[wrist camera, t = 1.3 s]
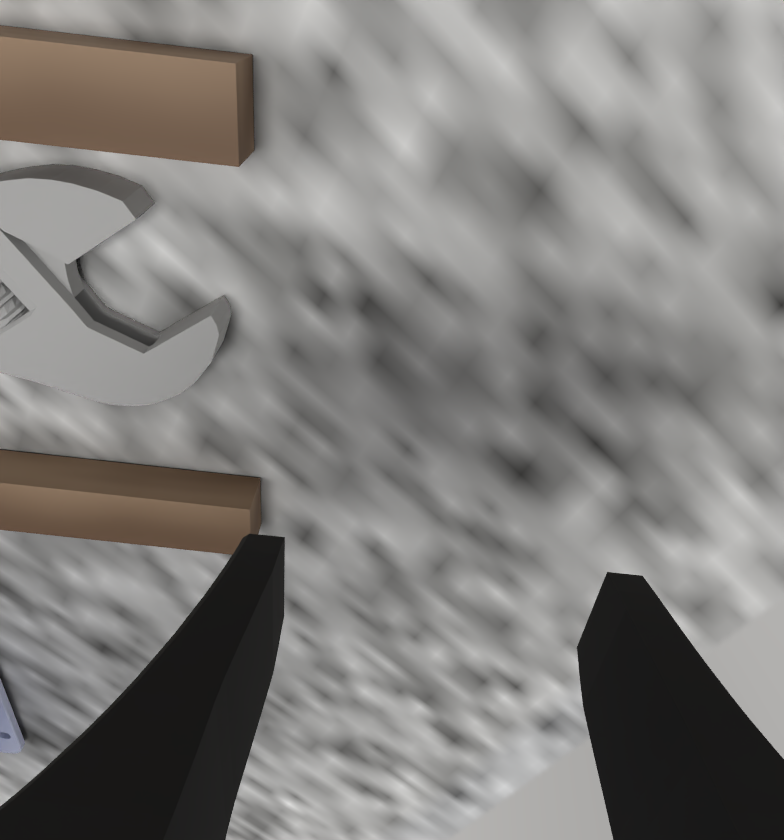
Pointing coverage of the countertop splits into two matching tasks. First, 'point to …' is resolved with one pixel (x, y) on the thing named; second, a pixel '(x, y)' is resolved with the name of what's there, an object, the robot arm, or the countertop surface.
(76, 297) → the adjustable wrench
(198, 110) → the guide channel
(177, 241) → the countertop surface
